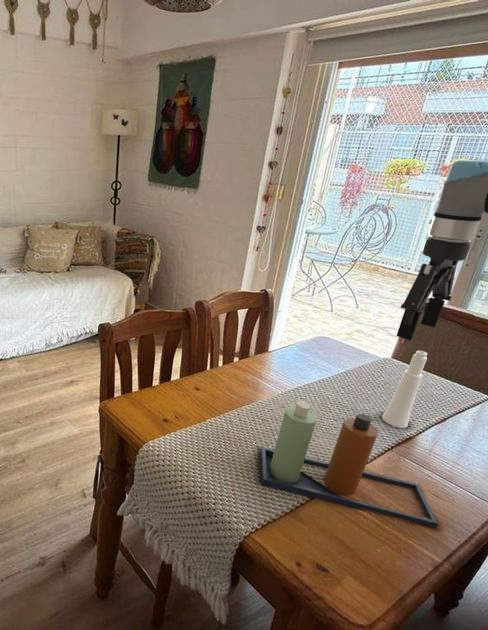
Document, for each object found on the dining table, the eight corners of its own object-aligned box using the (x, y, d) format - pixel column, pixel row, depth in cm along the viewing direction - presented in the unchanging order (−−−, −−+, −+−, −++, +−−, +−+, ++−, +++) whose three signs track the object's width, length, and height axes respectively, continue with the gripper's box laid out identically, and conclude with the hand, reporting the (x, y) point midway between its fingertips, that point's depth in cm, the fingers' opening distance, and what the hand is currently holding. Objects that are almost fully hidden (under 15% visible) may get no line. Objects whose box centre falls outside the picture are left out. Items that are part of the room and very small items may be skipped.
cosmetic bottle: (383, 415, 121) (410, 344, 112) (409, 425, 117) (439, 353, 108) (376, 423, 117) (404, 351, 109) (403, 435, 113) (434, 360, 104)
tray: (414, 491, 95) (418, 483, 95) (434, 532, 86) (438, 523, 85) (259, 454, 105) (261, 446, 104) (261, 487, 95) (263, 479, 95)
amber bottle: (360, 489, 94) (387, 419, 87) (346, 501, 91) (373, 430, 84) (331, 472, 99) (355, 404, 92) (318, 483, 96) (341, 414, 88)
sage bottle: (304, 475, 98) (325, 407, 90) (289, 487, 95) (310, 417, 87) (279, 460, 102) (297, 393, 95) (264, 470, 99) (282, 402, 92)
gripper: (448, 230, 101) (418, 315, 109) (403, 241, 88) (373, 337, 96) (490, 236, 95) (456, 325, 103) (449, 248, 82) (413, 350, 90)
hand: (416, 331), depth 100 cm, fingers open, 13 cm apart
